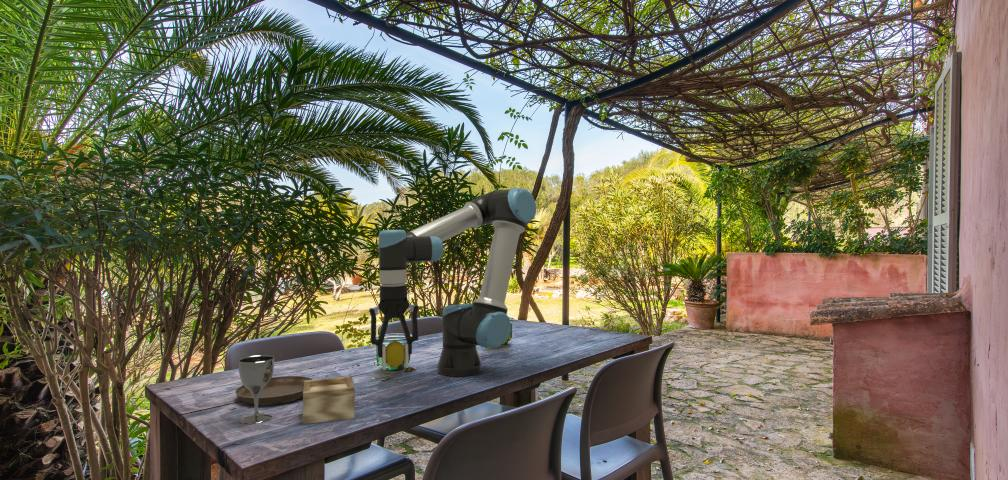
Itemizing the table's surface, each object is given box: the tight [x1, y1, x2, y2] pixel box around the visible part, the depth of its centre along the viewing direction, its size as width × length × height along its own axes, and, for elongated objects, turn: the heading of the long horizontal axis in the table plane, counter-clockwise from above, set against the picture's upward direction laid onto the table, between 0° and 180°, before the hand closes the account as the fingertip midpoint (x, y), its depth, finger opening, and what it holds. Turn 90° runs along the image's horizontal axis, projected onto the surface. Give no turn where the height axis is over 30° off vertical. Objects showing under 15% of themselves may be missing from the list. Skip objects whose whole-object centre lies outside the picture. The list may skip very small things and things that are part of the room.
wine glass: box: [238, 354, 275, 425], centre depth 123 cm, size 8×8×15 cm
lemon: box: [385, 339, 405, 369], centre depth 138 cm, size 6×6×8 cm
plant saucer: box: [235, 375, 314, 406], centre depth 142 cm, size 21×21×3 cm
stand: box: [302, 375, 356, 425], centre depth 127 cm, size 12×12×8 cm
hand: (395, 367), depth 138 cm, fingers closed on lemon, 5 cm apart
